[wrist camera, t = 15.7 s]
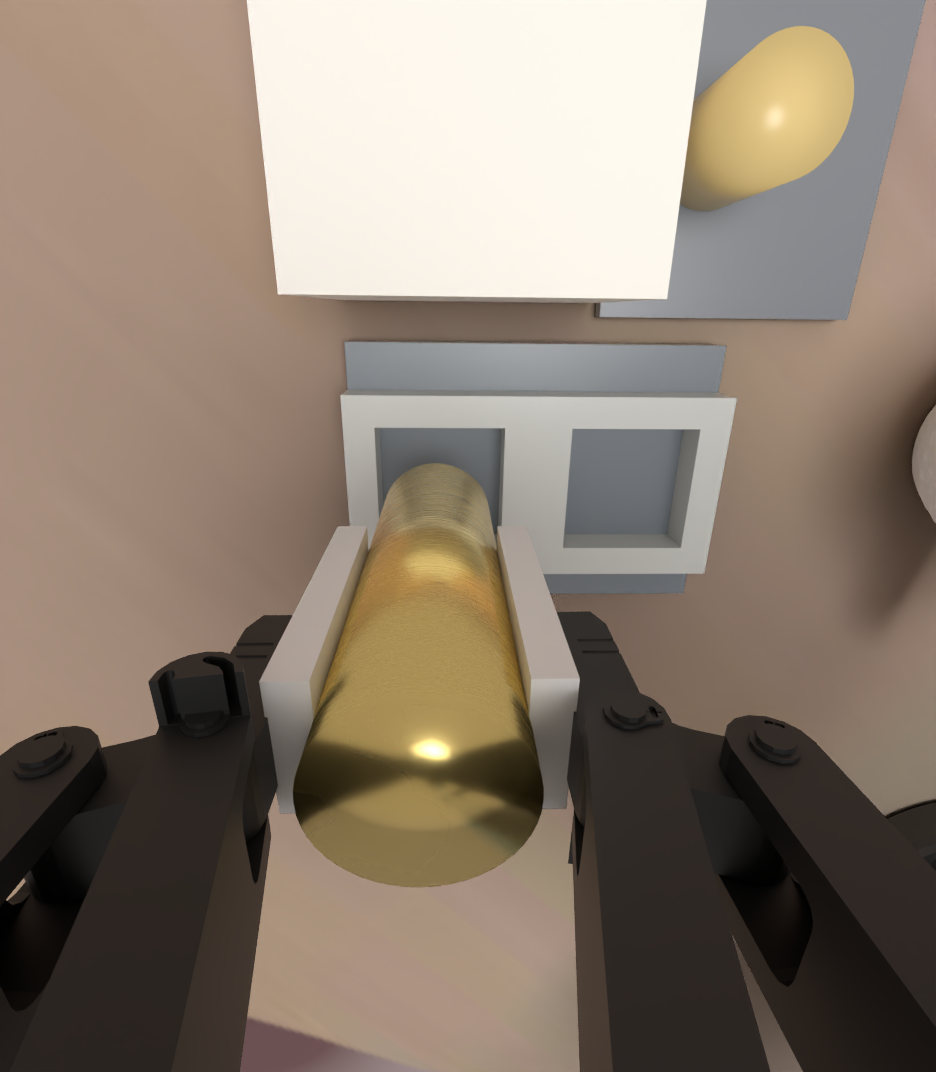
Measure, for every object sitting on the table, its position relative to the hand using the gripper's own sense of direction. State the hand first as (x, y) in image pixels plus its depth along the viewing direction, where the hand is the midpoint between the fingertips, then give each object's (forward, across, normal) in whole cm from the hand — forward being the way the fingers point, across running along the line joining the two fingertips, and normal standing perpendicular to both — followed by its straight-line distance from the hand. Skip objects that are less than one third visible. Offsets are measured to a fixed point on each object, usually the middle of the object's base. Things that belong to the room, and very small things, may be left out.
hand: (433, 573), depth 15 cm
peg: (+4, 0, 0) cm, 4 cm away
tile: (+11, -11, -12) cm, 20 cm away
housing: (+11, -1, -12) cm, 16 cm away
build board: (+11, -4, 0) cm, 11 cm away
